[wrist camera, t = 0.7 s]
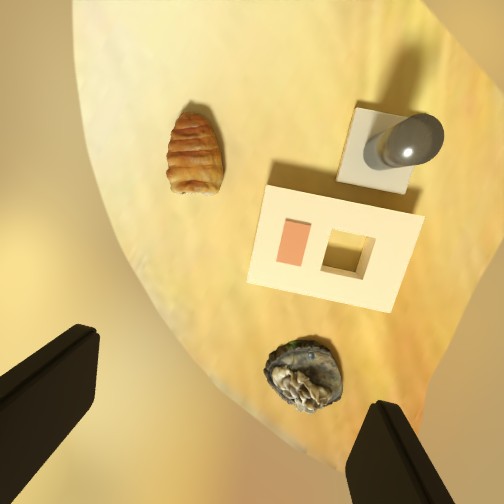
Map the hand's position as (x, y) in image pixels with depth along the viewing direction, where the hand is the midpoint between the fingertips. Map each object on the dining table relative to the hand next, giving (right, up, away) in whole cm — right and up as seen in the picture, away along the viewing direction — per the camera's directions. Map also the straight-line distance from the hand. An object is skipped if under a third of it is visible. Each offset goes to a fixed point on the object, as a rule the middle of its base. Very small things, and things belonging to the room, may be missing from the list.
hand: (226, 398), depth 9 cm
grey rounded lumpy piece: (+9, -13, +30) cm, 34 cm away
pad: (+16, +16, +22) cm, 32 cm away
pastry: (-6, +16, +24) cm, 30 cm away
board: (+10, +6, +25) cm, 28 cm away
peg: (+16, +16, +21) cm, 31 cm away
